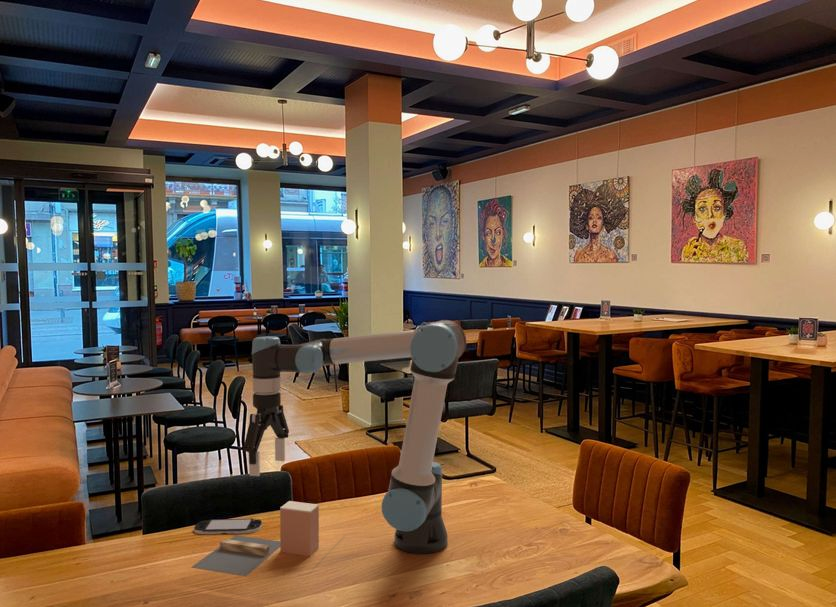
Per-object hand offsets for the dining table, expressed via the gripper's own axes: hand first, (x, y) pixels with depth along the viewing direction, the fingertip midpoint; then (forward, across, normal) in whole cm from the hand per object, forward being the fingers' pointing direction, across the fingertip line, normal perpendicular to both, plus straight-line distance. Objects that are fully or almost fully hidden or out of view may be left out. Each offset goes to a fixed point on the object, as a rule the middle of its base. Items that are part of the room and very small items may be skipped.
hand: (267, 467), depth 167 cm
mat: (+22, +9, -4) cm, 24 cm away
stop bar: (+21, +7, -4) cm, 22 cm away
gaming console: (+22, -5, -17) cm, 28 cm away
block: (+22, +2, +10) cm, 25 cm away
